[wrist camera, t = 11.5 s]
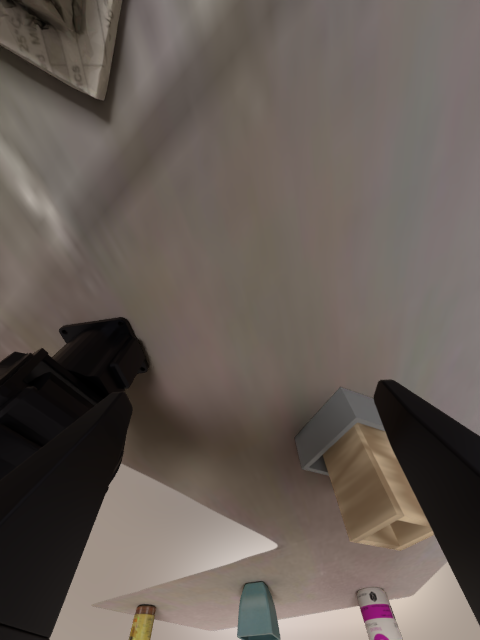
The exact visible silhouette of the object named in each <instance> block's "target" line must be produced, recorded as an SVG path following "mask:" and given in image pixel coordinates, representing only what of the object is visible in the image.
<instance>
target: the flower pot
mask: <svg viewBox="0 0 480 640" xmlns="http://www.w3.org/2000/svg"><path fill="white" fill-rule="evenodd" d="M237 637H238V638H240V639H242V640H280V634H279V627H278V621H277V615H276V610H275V606H274V602H273V599H272V596H271V594H270V591H269V589H268V587H267V586H266V585H265V584H264V582H257V583H247V584H245V586H244V589H243V592H242V595H241V599H240V604H239V616H238V633H237Z"/></svg>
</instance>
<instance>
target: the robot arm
mask: <svg viewBox="0 0 480 640" xmlns="http://www.w3.org/2000/svg"><path fill="white" fill-rule="evenodd" d="M120 322H122V323H123V324H121V323H120ZM65 330H66V331H67V332H66V331H65ZM59 332H60V334H61V336H62V337H63V339H64V340H65V342H66V343H67V344H66V345H65V346H64V347H63V348H62V349H60V350H59V351H58V352H57V353H56V354H55V355H54V356H53V357H50V356H49V355H48V352H47V351H45V350H44V349H43V348H41V349H39V350H38V351H36V352H34V353H33V354H32V353H29V354H28V353H27V354H24V353H19V352H14V353H12V354H10V355H9V356H7V357H6V358H5V359H3V360H2V361H1V362H0V640H49V638H50V636H51V634H52V632H53V629H54V626H55V624H56V621H57V618H58V616H59V613H60V610H61V608H62V606H63V603H64V600H65V598H66V595H67V593H68V590H69V587H70V585H71V582H72V579H73V577H74V574H75V572H76V569H77V566H78V564H79V561H80V558H81V556H82V553H83V551H84V548H85V546H86V543H87V540H88V538H89V535H90V532H91V530H92V527H93V525H94V522H95V520H96V517H97V514H98V511H99V509H100V507H101V504H102V501H103V499H104V496H105V494H106V492H107V491H108V488H109V487H108V486H109V484H110V482H111V481H112V480H113V478H114V477H115V475H116V473H117V471H118V469H119V466H120V464H121V461H122V457H123V452H124V445H125V439H126V434H127V429H128V426H129V422H130V419H131V415H132V405H131V403H130V401H129V399H128V396H127V394H126V393H125V392H124V390H125V389H127V388H129V387H130V385H131V384H132V382H133V380H134V378H135V376H136V374H138V373H145V372H147V370H148V368H149V366H148V364H147V362H146V359H145V355H144V353H143V351H142V349H141V347H140V344H139V342H138V340H137V338H136V337H135V336H134V334H133V331H132V329H131V327H130V325H129V323H128V321H127V319H125V318H123V317H119V318H112V319H105V320H99V321H92V322H85V323H78V324H71V325H65V326H63V327H61V328H60V329H59ZM142 367H143V368H142ZM374 403H375V406H376V408H377V411H378V414H379V416H380V419H381V422H382V424H383V427H384V430H385V432H386V435H387V438H388V440H389V443H390V445H391V448H392V450H393V452H394V454H395V456H396V458H397V460H398V462H399V464H400V466H401V468H402V470H403V472H404V474H405V476H406V478H407V480H408V482H409V484H410V486H411V488H412V490H413V492H414V494H415V496H416V498H417V500H418V502H419V504H420V506H421V508H422V510H423V512H424V515H425V517H426V519H427V521H428V523H429V525H430V527H431V529H432V531H433V533H434V535H435V537H436V539H437V541H438V543H439V545H440V547H441V549H442V551H443V553H444V555H445V557H446V559H447V561H448V563H449V565H450V567H451V569H452V571H453V573H454V575H455V577H456V579H457V581H458V583H459V585H460V587H461V589H462V591H463V593H464V595H465V597H466V599H467V601H468V603H469V605H470V607H471V609H472V611H473V613H474V615H475V617H476V619H477V621H478V623H479V625H480V436H479V435H477V434H476V433H474V432H472V431H471V430H469V429H468V428H466V427H465V426H463V425H462V424H460V423H459V422H457V421H456V420H454V419H453V418H451V417H449V416H448V415H446V414H445V413H443V412H442V411H440V410H439V409H437V408H436V407H434V406H433V405H431V404H430V403H428V402H427V401H425V400H423V399H422V398H420V397H419V396H417V395H416V394H414V393H413V392H411V391H410V390H408V389H407V388H405V387H404V386H402V385H400V384H399V383H397V382H396V381H394V380H380V381H379V382H378V384H377V387H376V391H375V394H374Z"/></svg>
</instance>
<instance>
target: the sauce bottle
mask: <svg viewBox="0 0 480 640" xmlns="http://www.w3.org/2000/svg"><path fill="white" fill-rule="evenodd" d="M154 614H155V607H154V606H151V605H142V606H138V607H137V609H136V613H135V616H134V620H133V624H132V628H131V632H130V637H129V640H150V638H151V632H152V627H153V622H154V617H155V615H154Z"/></svg>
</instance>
